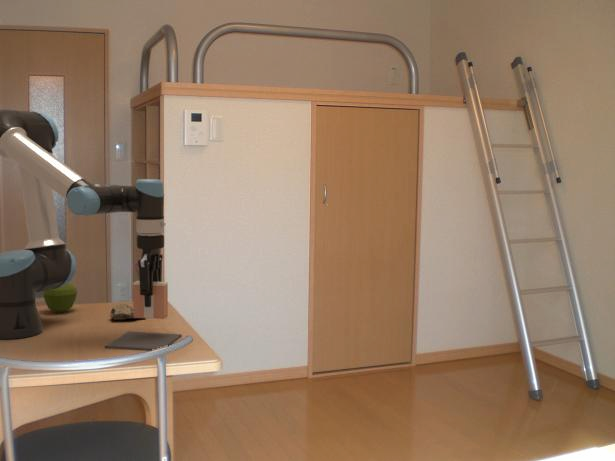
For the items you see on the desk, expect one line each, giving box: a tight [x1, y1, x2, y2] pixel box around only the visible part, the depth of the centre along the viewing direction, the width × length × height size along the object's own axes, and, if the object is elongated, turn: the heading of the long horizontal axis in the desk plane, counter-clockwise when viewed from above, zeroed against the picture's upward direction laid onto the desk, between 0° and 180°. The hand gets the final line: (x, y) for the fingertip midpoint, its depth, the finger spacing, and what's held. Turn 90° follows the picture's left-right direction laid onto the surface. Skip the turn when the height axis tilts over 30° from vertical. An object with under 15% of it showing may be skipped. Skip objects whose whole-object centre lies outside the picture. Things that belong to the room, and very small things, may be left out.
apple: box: [42, 283, 78, 314], centre depth 229 cm, size 11×10×10 cm
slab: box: [132, 280, 169, 320], centre depth 197 cm, size 9×3×10 cm, turn 82°
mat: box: [104, 331, 182, 351], centre depth 193 cm, size 16×16×1 cm
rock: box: [109, 303, 147, 322], centre depth 221 cm, size 11×11×4 cm
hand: (151, 316), depth 197 cm, fingers closed on slab, 3 cm apart
